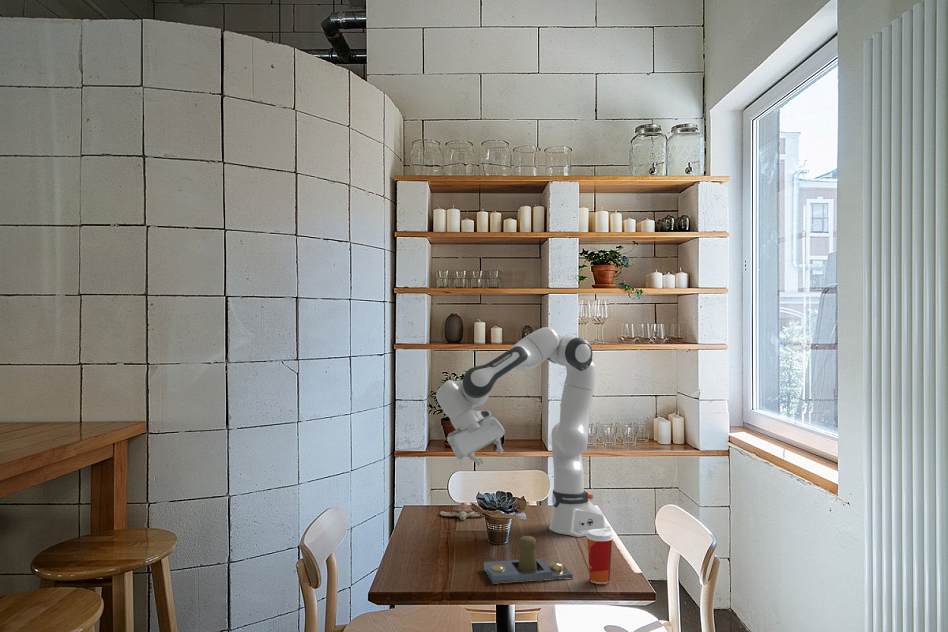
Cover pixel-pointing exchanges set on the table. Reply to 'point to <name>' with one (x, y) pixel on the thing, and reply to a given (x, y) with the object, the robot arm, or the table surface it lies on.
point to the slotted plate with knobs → (508, 572)
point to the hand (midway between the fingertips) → (491, 458)
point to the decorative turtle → (460, 511)
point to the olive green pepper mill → (527, 554)
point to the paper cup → (599, 554)
